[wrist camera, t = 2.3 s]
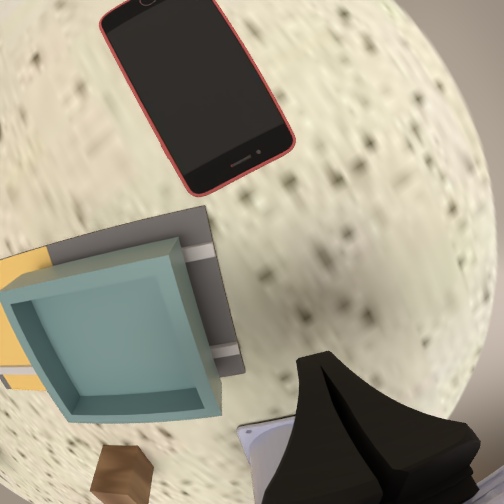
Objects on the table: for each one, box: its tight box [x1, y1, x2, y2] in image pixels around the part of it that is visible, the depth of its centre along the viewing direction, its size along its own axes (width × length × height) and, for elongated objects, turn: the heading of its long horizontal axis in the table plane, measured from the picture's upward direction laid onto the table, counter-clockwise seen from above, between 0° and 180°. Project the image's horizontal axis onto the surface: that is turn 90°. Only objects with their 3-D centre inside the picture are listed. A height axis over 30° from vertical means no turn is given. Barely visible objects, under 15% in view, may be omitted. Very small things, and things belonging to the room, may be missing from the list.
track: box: [0, 205, 245, 391], centre depth 19 cm, size 24×12×1 cm, turn 100°
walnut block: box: [90, 445, 154, 504], centre depth 21 cm, size 4×4×6 cm
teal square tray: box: [0, 237, 222, 423], centre depth 16 cm, size 11×10×4 cm
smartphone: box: [99, 0, 296, 197], centre depth 15 cm, size 7×1×14 cm
